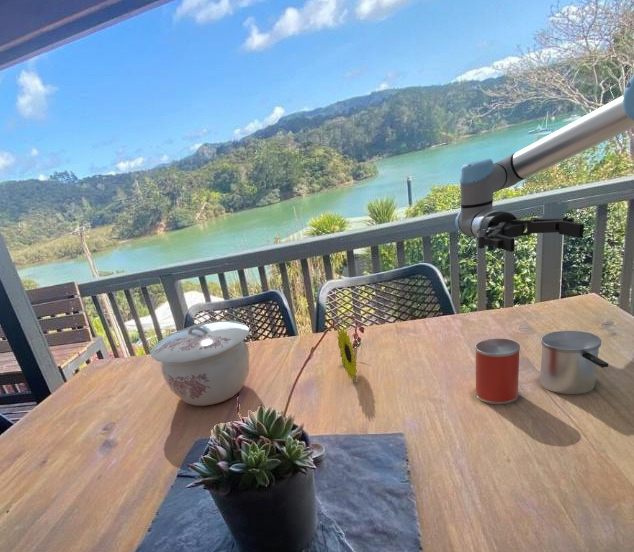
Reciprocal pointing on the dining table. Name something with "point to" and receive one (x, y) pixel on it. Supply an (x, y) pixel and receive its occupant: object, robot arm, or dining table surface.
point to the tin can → (497, 371)
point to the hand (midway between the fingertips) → (546, 238)
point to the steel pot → (570, 361)
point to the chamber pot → (205, 361)
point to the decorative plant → (347, 353)
